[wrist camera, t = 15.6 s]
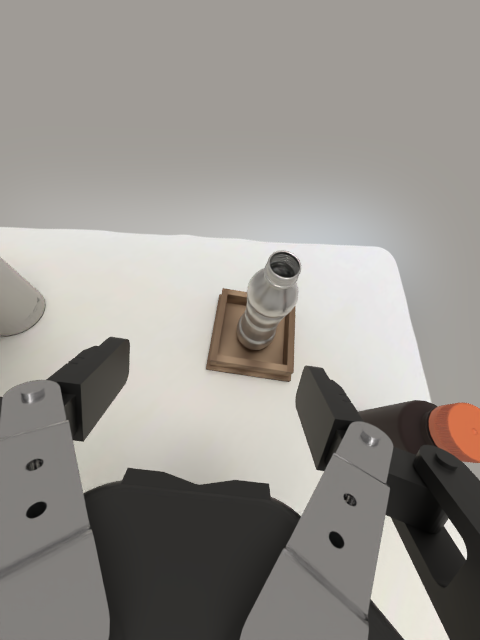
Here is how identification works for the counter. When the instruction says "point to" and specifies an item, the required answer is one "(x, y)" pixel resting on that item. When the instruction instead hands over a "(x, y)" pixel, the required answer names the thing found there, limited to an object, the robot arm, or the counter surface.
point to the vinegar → (430, 427)
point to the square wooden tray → (244, 361)
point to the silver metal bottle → (269, 300)
